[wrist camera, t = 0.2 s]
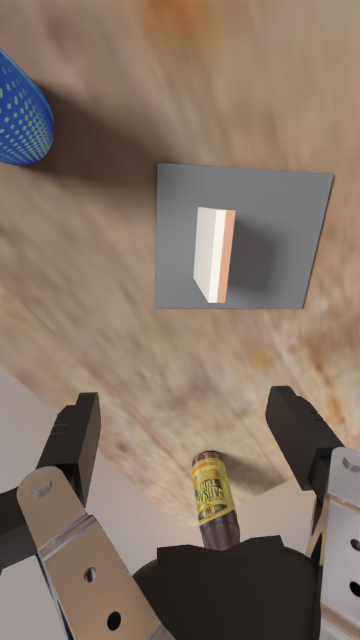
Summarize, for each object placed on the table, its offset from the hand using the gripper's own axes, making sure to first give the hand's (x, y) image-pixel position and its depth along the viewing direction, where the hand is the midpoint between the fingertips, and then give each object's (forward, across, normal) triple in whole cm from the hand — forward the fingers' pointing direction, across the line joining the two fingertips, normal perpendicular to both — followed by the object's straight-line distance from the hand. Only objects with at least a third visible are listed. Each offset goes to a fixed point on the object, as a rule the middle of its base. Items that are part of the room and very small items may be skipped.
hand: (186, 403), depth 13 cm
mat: (+27, -10, -3) cm, 29 cm away
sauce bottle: (+27, -9, +38) cm, 47 cm away
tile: (+26, -5, -3) cm, 27 cm away
